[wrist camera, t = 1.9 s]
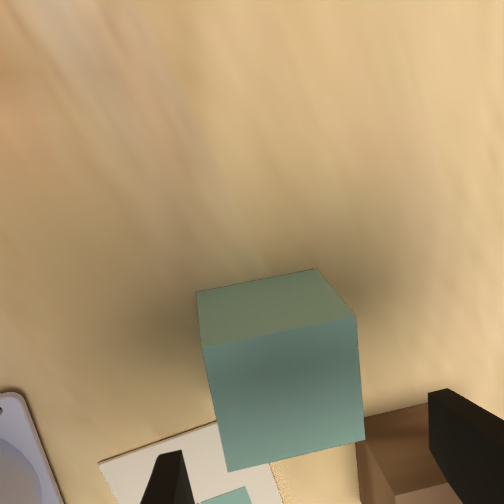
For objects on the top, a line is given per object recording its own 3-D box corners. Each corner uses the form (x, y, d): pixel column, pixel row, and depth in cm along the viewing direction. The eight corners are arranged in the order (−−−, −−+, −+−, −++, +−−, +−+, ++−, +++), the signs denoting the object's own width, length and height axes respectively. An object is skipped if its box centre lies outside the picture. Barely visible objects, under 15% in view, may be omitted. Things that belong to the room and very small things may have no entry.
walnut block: (359, 497, 23) (399, 586, 19) (352, 418, 21) (395, 495, 17) (450, 475, 24) (510, 556, 19) (450, 395, 22) (515, 465, 18)
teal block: (216, 394, 20) (227, 472, 16) (195, 291, 18) (201, 348, 14) (326, 369, 20) (365, 439, 16) (315, 267, 19) (355, 315, 14)
